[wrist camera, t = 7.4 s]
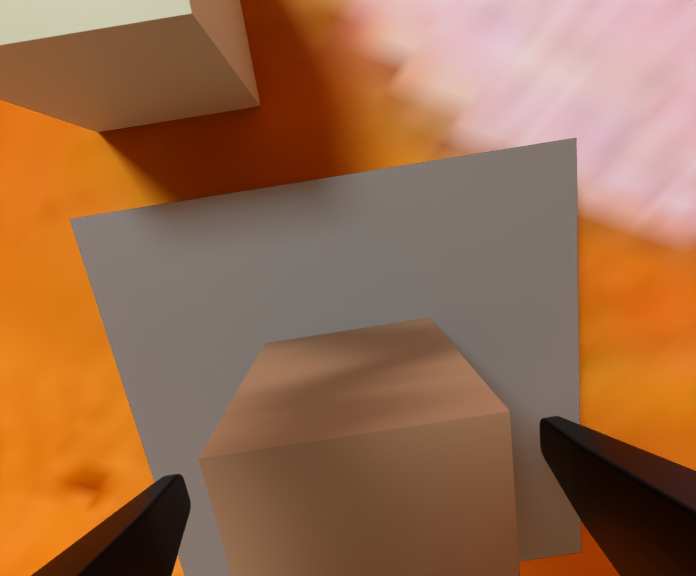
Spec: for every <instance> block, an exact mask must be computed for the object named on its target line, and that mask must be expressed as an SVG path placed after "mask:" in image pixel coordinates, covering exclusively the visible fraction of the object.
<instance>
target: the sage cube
mask: <svg viewBox="0 0 696 576" xmlns="http://www.w3.org/2000/svg"><path fill="white" fill-rule="evenodd" d="M0 100H3V101H6V102H9V103H12V104H15V105H18V106H21V107H24V108H27V109H30V110H33V111H36V112H39V113H42V114H45V115H48V116H51V117H54V118H57V119H60V120H63V121H66V122H69V123H72V124H75V125H78V126H81V127H84V128H87V129H90V130H93V131H96V132H103V131H109V130H115V129H121V128H127V127H134V126H140V125H146V124H152V123H158V122H165V121H171V120H177V119H183V118H189V117H195V116H202V115H208V114H214V113H220V112H226V111H233V110H239V109H245V108H251V107H257V106H260V100H259V95H258V90H257V85H256V80H255V74H254V69H253V64H252V59H251V53H250V48H249V43H248V38H247V33H246V27H245V22H244V17H243V12H242V7H241V1H240V0H0Z"/></svg>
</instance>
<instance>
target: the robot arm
mask: <svg viewBox="0 0 696 576" xmlns="http://www.w3.org/2000/svg"><path fill="white" fill-rule="evenodd" d="M539 427H540V448H541V452H542V455H543V457H544V459H545V461H546V462H547V464H548V466H549V467H550V469H551V471H552V473H553V474H554V476H555V478H556V479H557V481H558V483H559V485H560V486H561V488H562V490H563V491H564V493H565V495H566V496H567V498H568V500H569V502H570V503H571V505H572V507H573V508H574V510H575V512H576V513H577V515H578V516H579V518H580V520H581V521H582V523H583V524H584V526H585V527H586V528H587V530H588V531H589V533H590V534H591V536H592V537H593V538H594V540H595V541H596V542H597V544H598V545H599V547H600V548H601V549H602V551H603V552H604V554H605V555H606V556H607V558H608V559H609V561H610V562H611V563H612V565H613V566H614V568H615V569H616V570H617V572H618V573H619V575H620V576H696V471H694V470H692V469H689V468H687V467H684V466H682V465H679V464H677V463H674V462H672V461H669V460H667V459H664V458H662V457H659V456H657V455H654V454H652V453H649V452H647V451H644V450H642V449H639V448H637V447H635V446H632V445H630V444H627V443H625V442H622V441H620V440H617V439H615V438H612V437H610V436H607V435H605V434H602V433H600V432H597V431H595V430H592V429H590V428H587V427H585V426H582V425H580V424H577V423H575V422H572V421H570V420H567V419H565V418H562V417H560V416H551V417H545V418H542V419H541V420H540V423H539ZM190 509H191V501H190V497H189V494H188V490H187V487H186V484H185V480H184V478H183V476H182V475H181V474H172V475H166V476H163V477H162V478H160V479H159V480H158V481H156V482H155V483H154V484H152V485H151V486H150V487H148V488H147V489H146V490H144V491H143V492H142V493H140V494H139V495H138V496H136V497H135V498H134V499H132V500H131V501H130V502H128V503H127V504H126V505H124V506H123V507H122V508H120V509H119V510H118V511H116V512H115V513H114V514H112V515H111V516H110V517H108V518H107V519H106V520H104V521H103V522H102V523H100V524H99V525H98V526H96V527H95V528H94V529H92V530H91V531H90V532H88V533H87V534H86V535H84V536H83V537H82V538H80V539H79V540H78V541H76V542H75V543H74V544H72V545H71V546H70V547H68V548H67V549H66V550H64V551H63V552H62V553H60V554H59V555H58V556H56V557H55V558H54V559H52V560H51V561H50V562H48V563H47V564H46V565H45V566H43V567H42V568H41V569H39V570H38V571H37V572H35V573H34V574H33V575H31V576H171V575H172V572H173V569H174V565H175V562H176V558H177V555H178V552H179V548H180V545H181V541H182V538H183V534H184V531H185V527H186V524H187V520H188V517H189V514H190Z"/></svg>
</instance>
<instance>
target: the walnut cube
mask: <svg viewBox="0 0 696 576" xmlns="http://www.w3.org/2000/svg"><path fill="white" fill-rule="evenodd" d="M198 460H199V463H200V467H201V470H202V474H203V477H204V481H205V484H206V488H207V491H208V495H209V498H210V502H211V505H212V509H213V512H214V516H215V519H216V523H217V526H218V530H219V533H220V537H221V540H222V544H223V547H224V551H225V554H226V558H227V561H228V565H229V568H230V572H231V575H232V576H520V571H519V555H518V538H517V521H516V505H515V488H514V471H513V455H512V438H511V421H510V411H509V410H508V408H507V407H506V406H505V405H504V404H503V403H502V401H501V400H500V399H499V398H498V397H497V396H496V394H495V393H494V392H493V391H492V390H491V389H490V387H489V386H488V385H487V384H486V383H485V382H484V380H483V379H482V378H481V377H480V376H479V375H478V373H477V372H476V371H475V370H474V369H473V368H472V366H471V365H470V364H469V363H468V362H467V361H466V360H465V358H464V357H463V356H462V355H461V354H460V353H459V351H458V350H457V349H456V348H455V347H454V346H453V344H452V343H451V342H450V341H449V340H448V339H447V337H446V336H445V335H444V334H443V333H442V332H441V330H440V329H439V328H438V327H437V326H436V325H435V323H434V322H433V321H432V320H431V319H430V318H423V319H417V320H410V321H404V322H397V323H391V324H385V325H378V326H372V327H365V328H359V329H352V330H346V331H340V332H333V333H327V334H320V335H314V336H307V337H301V338H294V339H288V340H282V341H275V342H269V343H265V344H264V345H263V347H262V349H261V351H260V352H259V354H258V356H257V357H256V359H255V361H254V363H253V364H252V366H251V368H250V370H249V371H248V373H247V375H246V377H245V378H244V380H243V382H242V383H241V385H240V387H239V389H238V390H237V392H236V394H235V396H234V397H233V399H232V401H231V403H230V404H229V406H228V408H227V409H226V411H225V413H224V415H223V416H222V418H221V420H220V422H219V423H218V425H217V427H216V429H215V430H214V432H213V434H212V436H211V437H210V439H209V441H208V442H207V444H206V446H205V448H204V449H203V451H202V453H201V455H200V456H199V458H198Z"/></svg>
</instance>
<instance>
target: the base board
mask: <svg viewBox="0 0 696 576" xmlns="http://www.w3.org/2000/svg"><path fill="white" fill-rule="evenodd" d="M70 222H71V225H72V228H73V231H74V234H75V237H76V240H77V243H78V246H79V250H80V253H81V256H82V259H83V262H84V265H85V268H86V271H87V274H88V277H89V281H90V284H91V287H92V290H93V293H94V296H95V299H96V302H97V305H98V308H99V312H100V315H101V318H102V321H103V324H104V327H105V330H106V333H107V336H108V339H109V343H110V346H111V349H112V352H113V355H114V358H115V361H116V364H117V367H118V370H119V373H120V377H121V380H122V383H123V386H124V389H125V392H126V395H127V398H128V401H129V404H130V408H131V411H132V414H133V417H134V420H135V423H136V426H137V429H138V432H139V435H140V439H141V442H142V445H143V448H144V451H145V454H146V457H147V460H148V463H149V466H150V470H151V473H152V476H153V479H154V482H156V481H158V480H159V479H160V478H162V477H163V476H166V475H172V474H181V475H182V476H183V478H184V480H185V484H186V487H187V490H188V494H189V497H190V501H191V509H190V514H189V517H188V520H187V524H186V527H185V531H184V534H183V538H182V541H181V545H180V548H179V552H178V556H179V559H180V562H181V566H182V569H183V572H184V575H185V576H232V575H231V572H230V568H229V565H228V561H227V558H226V554H225V551H224V547H223V544H222V540H221V537H220V533H219V530H218V526H217V523H216V519H215V516H214V512H213V509H212V505H211V502H210V498H209V495H208V491H207V488H206V484H205V481H204V477H203V474H202V470H201V467H200V463H199V460H198V458H199V456H200V455H201V453H202V451H203V449H204V448H205V446H206V444H207V442H208V441H209V439H210V437H211V436H212V434H213V432H214V430H215V429H216V427H217V425H218V423H219V422H220V420H221V418H222V416H223V415H224V413H225V411H226V409H227V408H228V406H229V404H230V403H231V401H232V399H233V397H234V396H235V394H236V392H237V390H238V389H239V387H240V385H241V383H242V382H243V380H244V378H245V377H246V375H247V373H248V371H249V370H250V368H251V366H252V364H253V363H254V361H255V359H256V357H257V356H258V354H259V352H260V351H261V349H262V347H263V345H264V344H265V343H269V342H275V341H282V340H288V339H294V338H301V337H307V336H314V335H320V334H327V333H333V332H340V331H346V330H352V329H359V328H365V327H372V326H378V325H385V324H391V323H397V322H404V321H410V320H417V319H423V318H430V319H431V320H432V321H433V322H434V323H435V325H436V326H437V327H438V328H439V329H440V330H441V332H442V333H443V334H444V335H445V336H446V337H447V339H448V340H449V341H450V342H451V343H452V344H453V346H454V347H455V348H456V349H457V350H458V351H459V353H460V354H461V355H462V356H463V357H464V358H465V360H466V361H467V362H468V363H469V364H470V365H471V366H472V368H473V369H474V370H475V371H476V372H477V373H478V375H479V376H480V377H481V378H482V379H483V380H484V382H485V383H486V384H487V385H488V386H489V387H490V389H491V390H492V391H493V392H494V393H495V394H496V396H497V397H498V398H499V399H500V400H501V401H502V403H503V404H504V405H505V406H506V407H507V408H508V410H509V411H510V421H511V438H512V455H513V471H514V488H515V505H516V521H517V538H518V555H519V562H520V561H527V560H533V559H540V558H547V557H554V556H560V555H567V554H574V553H581V520H580V518H579V516H578V515H577V513H576V512H575V510H574V508H573V507H572V505H571V503H570V502H569V500H568V498H567V496H566V495H565V493H564V491H563V490H562V488H561V486H560V485H559V483H558V481H557V479H556V478H555V476H554V474H553V473H552V471H551V469H550V467H549V466H548V464H547V462H546V461H545V459H544V457H543V455H542V452H541V448H540V427H539V423H540V420H541V419H542V418H545V417H551V416H560V417H562V418H565V419H567V420H570V421H572V422H575V423H577V424H580V402H579V318H578V233H577V149H576V138H572V139H565V140H559V141H553V142H547V143H540V144H534V145H528V146H522V147H515V148H509V149H503V150H497V151H490V152H484V153H478V154H472V155H465V156H459V157H453V158H447V159H440V160H434V161H428V162H422V163H415V164H409V165H403V166H397V167H391V168H384V169H378V170H372V171H366V172H359V173H353V174H347V175H341V176H334V177H328V178H322V179H316V180H309V181H303V182H297V183H291V184H284V185H278V186H272V187H266V188H259V189H253V190H247V191H241V192H234V193H228V194H222V195H216V196H209V197H203V198H197V199H191V200H184V201H178V202H172V203H166V204H159V205H153V206H147V207H141V208H134V209H128V210H122V211H116V212H109V213H103V214H97V215H91V216H85V217H78V218H72V219H70Z"/></svg>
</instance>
